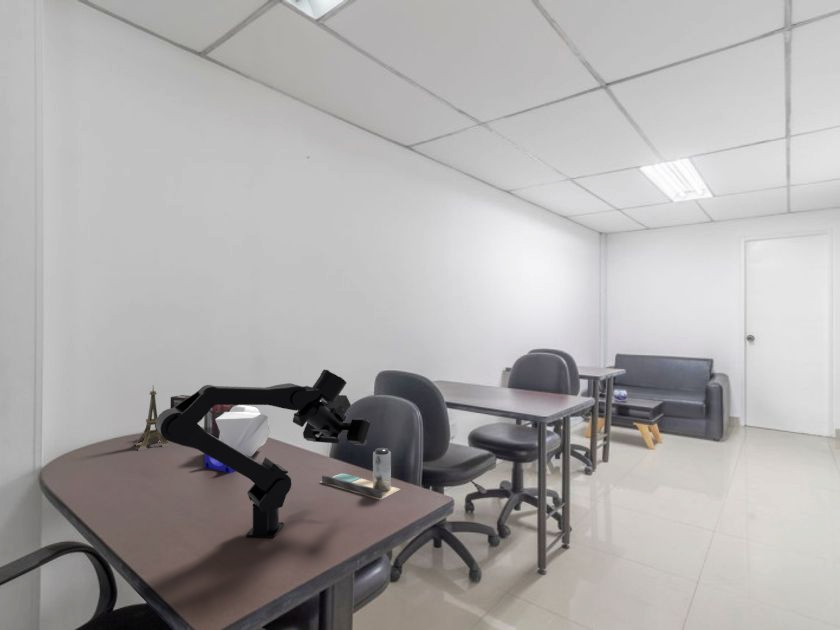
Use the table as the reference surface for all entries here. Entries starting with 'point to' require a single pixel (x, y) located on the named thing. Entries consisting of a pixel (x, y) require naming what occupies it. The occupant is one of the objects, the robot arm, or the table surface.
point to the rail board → (356, 485)
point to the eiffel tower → (150, 421)
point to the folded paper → (243, 429)
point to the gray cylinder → (382, 469)
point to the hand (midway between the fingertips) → (351, 442)
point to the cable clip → (216, 465)
